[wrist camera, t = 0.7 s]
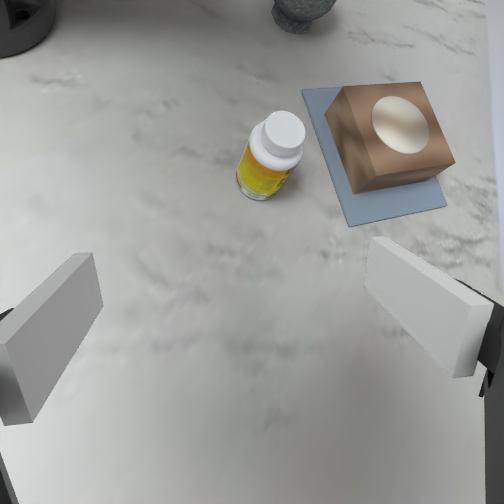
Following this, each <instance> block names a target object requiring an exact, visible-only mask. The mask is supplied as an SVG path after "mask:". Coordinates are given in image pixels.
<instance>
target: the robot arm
mask: <svg viewBox="0 0 504 504" xmlns="http://www.w3.org/2000/svg"><path fill="white" fill-rule="evenodd" d="M54 18H55V3H54V0H0V57H5V56H10V55H14V54H17V53H20V52H22V51H25V50H27V49H29V48H31V47H32V46H34V45H35V44H37V43H38V42H39V41H41V40H42V39H43V38H44V37H45V36H46V35H47V33H48V32H49V30H50V29H51V27H52V25H53V22H54ZM364 287H365V288H366V290H367V291H368V292H369V293H370V294H371V295H372V296H373V297H374V298H375V299H376V300H377V301H378V302H379V303H380V304H381V305H382V306H383V307H384V308H385V309H386V310H387V311H388V312H389V313H390V314H391V315H392V316H393V317H394V318H395V319H396V321H397V322H398V323H399V324H400V325H401V326H402V327H403V328H404V329H405V330H406V331H407V332H408V333H409V334H410V335H411V336H412V337H413V338H414V339H415V340H416V341H417V342H418V343H419V344H420V345H421V346H422V347H423V348H424V349H425V351H426V352H427V353H428V354H429V355H430V356H431V357H432V358H433V359H434V360H435V361H436V362H437V363H438V364H439V365H440V366H441V367H442V368H443V369H444V370H445V371H446V372H447V373H448V374H449V375H450V376H451V377H452V378H457V377H467V376H473V375H474V372H475V368H476V365H477V361H479V362H481V363H482V364H483V365H484V366H485V367H486V368H487V370H486V373H485V377H484V380H483V383H482V387H481V390H480V393H479V397H482V398H483V396H484V409H485V489H486V504H504V307H503V306H501V305H500V304H498V303H496V302H495V301H493V300H491V299H490V298H488V297H487V296H485V295H483V294H481V293H480V292H478V291H477V290H475V289H472V287H470V286H468V285H467V284H465V283H464V282H462V281H459V280H457V279H454V278H452V277H450V276H448V275H447V274H445V273H444V272H442V271H440V270H439V269H437V268H435V267H434V266H432V265H431V264H429V263H427V262H426V261H424V260H423V259H421V258H419V257H418V256H416V255H414V254H413V253H411V252H410V251H408V250H406V249H405V248H403V247H401V246H400V245H398V244H397V243H395V242H393V241H392V240H390V239H389V238H387V237H385V236H381V237H370V243H369V251H368V259H367V267H366V276H365V284H364ZM102 308H103V301H102V297H101V292H100V287H99V282H98V277H97V273H96V268H95V263H94V258H93V254H92V253H76V254H73V255H72V256H71V257H70V258H69V259H68V260H67V261H66V262H65V263H64V264H62V265H61V266H60V267H59V268H58V269H57V270H56V271H55V272H54V273H53V274H52V275H50V276H49V277H48V278H47V279H46V280H45V281H44V282H43V283H42V284H41V285H39V286H38V287H37V288H36V289H35V290H34V291H33V292H32V293H31V294H30V295H29V296H27V297H26V298H25V299H24V300H23V301H22V302H21V303H20V304H19V305H18V306H16V307H15V308H11V309H9V310H7V311H5V312H3V313H2V314H0V416H1V419H2V422H3V424H4V426H7V425H16V424H26V423H33V421H34V419H35V418H36V416H37V415H38V413H39V411H40V410H41V408H42V406H43V405H44V403H45V401H46V400H47V398H48V396H49V395H50V393H51V392H52V390H53V388H54V387H55V385H56V383H57V382H58V380H59V378H60V377H61V375H62V373H63V372H64V370H65V368H66V367H67V365H68V364H69V362H70V360H71V359H72V357H73V355H74V354H75V352H76V350H77V349H78V347H79V345H80V344H81V342H82V340H83V339H84V337H85V336H86V334H87V332H88V331H89V329H90V327H91V326H92V324H93V322H94V321H95V319H96V317H97V316H98V314H99V313H100V311H101V309H102ZM0 504H19V503H18V500H17V497H16V495H15V492H14V489H13V486H12V484H11V481H10V478H9V475H8V473H7V470H6V467H5V464H4V462H3V459H2V456H1V453H0Z"/></svg>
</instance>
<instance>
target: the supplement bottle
mask: <svg viewBox="0 0 504 504" xmlns="http://www.w3.org/2000/svg"><path fill="white" fill-rule="evenodd" d="M304 139H305V127H304V125H303V123H302V121H301V120H300V119H299V118H298V117H297V116H296V115H294V114H293V113H290V112H288V111H276V112H273V113H271V114H270V115H269V116H268V117H267V119H266V120H264V121H262V122H260V123H258V124H257V125H256V126H255V127H254V129H253V130H252V132H251V134H250V137H249V140H248V142H247V145H246V147H245V150H244V152H243V155H242V157H241V160H240V162H239V165H238V168H237V171H236V182H237V185H238V187H239V189H240V190H241V191H242V192H243V193H244V194H245V195H246V196H248V197H250V198H252V199H255V200H266V199H269V198H271V197H272V196H274V195H275V194H276V193H277V191H278V190H279V189H280V187H281V186H282V185H283V183H284V182H285V181H286V179H287V178H288V176H289V175H290V174H291V172H292V171H293V170H294V168H295V167H296V165H297V164H298V163H299V161H300V160H301V158H302V155H303V150H304V146H303V141H304Z"/></svg>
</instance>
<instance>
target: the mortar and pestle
mask: <svg viewBox="0 0 504 504" xmlns="http://www.w3.org/2000/svg"><path fill="white" fill-rule="evenodd" d="M274 1H275V4H274V7H273V9H272V12H271V13H272V15H273V17H274V20H275V22H276V24H278V25H279V26H280V27H281V28H283V29H284V30H285V31H287V32H291V33H296V34H301V33H303V32H305V31H308V30H309V28H310V25H311V22H312V20H315V19H317V18H319V17H321V16H323V15H324V14H326V13H327V12H328V11H330V9H331V8H332V6H333V5H334V3H335V2H336V0H274Z"/></svg>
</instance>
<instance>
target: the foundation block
mask: <svg viewBox="0 0 504 504" xmlns="http://www.w3.org/2000/svg"><path fill="white" fill-rule="evenodd" d="M325 117H326V120H327V122H328V125H329V128H330V131H331V134H332V136H333V139H334V142H335V145H336V147H337V150H338V153H339V156H340V159H341V161H342V164H343V167H344V170H345V173H346V175H347V178H348V181H349V184H350V186H351V189H352V192H353V194H358V193H363V192H369V191H375V190H380V189H386V188H391V187H397V186H402V185H408V184H414V183H419V182H425V181H427V180H429V179H430V178H432V177H434V176H435V175H437V174H438V173H440V172H442V171H443V170H445V169H446V168H448V167H450V166H451V165H453V164H454V163H456V162H455V160H454V158H453V156H452V153H451V151H450V149H449V146H448V144H447V142H446V139H445V137H444V135H443V133H442V130H441V128H440V126H439V123H438V121H437V119H436V116H435V114H434V112H433V110H432V107H431V105H430V103H429V100H428V98H427V96H426V93H425V91H424V89H423V87H422V84H421V82H407V83H390V84H374V85H358V86H343V87H342V89H341V90H340V92H339V93H338V94H337V96H336V97H335V99H334V100H333V102H332V103H331V105H330V106H329V108H328V109H327V111H326V112H325Z"/></svg>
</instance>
